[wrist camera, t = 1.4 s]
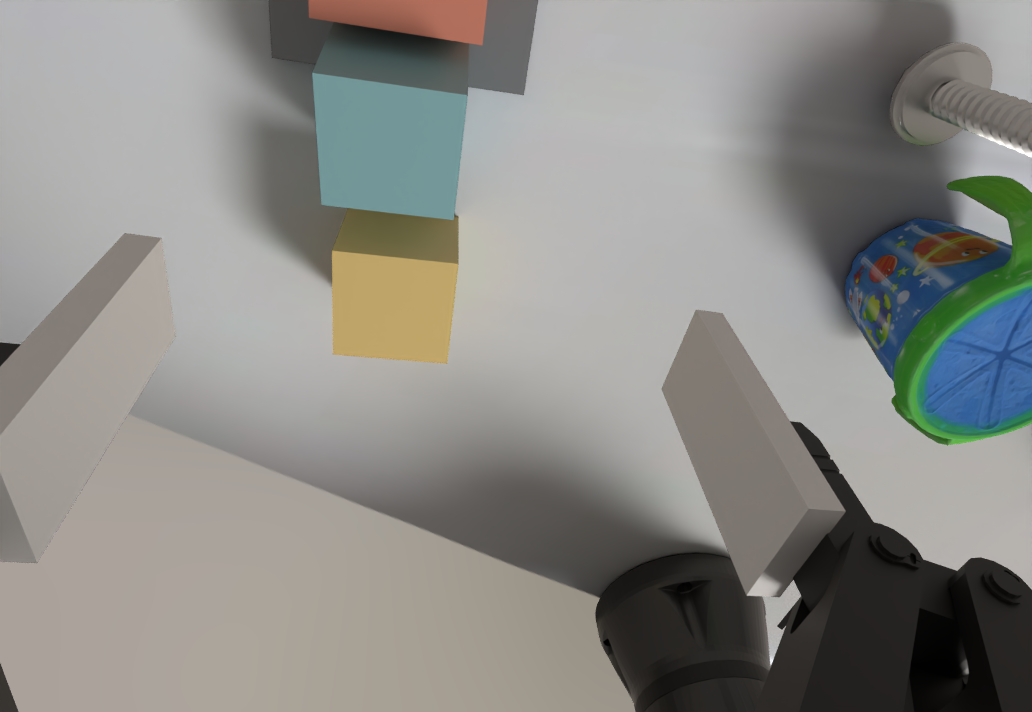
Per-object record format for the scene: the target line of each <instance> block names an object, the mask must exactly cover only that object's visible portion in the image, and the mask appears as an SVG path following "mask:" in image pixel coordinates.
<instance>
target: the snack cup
mask: <svg viewBox="0 0 1032 712" xmlns="http://www.w3.org/2000/svg"><path fill="white" fill-rule="evenodd" d="M947 188H948V189H949V190H954V191H960V192H962V193H964V194H966V195H967V196H969V197H971V198H972V199H974V200H976V201H978V202H979V203H981V204H983V205H984V206H986V207H988V208H990V209H991V210H993V211H995V212H996V213H998V214H1000V215H1002V216H1004V217H1005V218H1007V220H1008V223H1009V228H1010V232H1011V238H1012V246H1011V245H1009V244H1006V243H1004V242H1002V241H999V240H996V239H992V238H990V237H987V236H985V235H983V234H980V233H978V232H975V231H972V230H969V229H964V228H962V227H960V226H957V225H954V224H951V223H947V222H943V221H937V220H925V219H914V220H911V221H909V222H906V223H905V224H904V225H902V226H899V227H897V228H895V229H893V230H891V231H889V232H887V233H885V234H883V235H882V236H880V237H879V238H877V239H876V240H874V241H873V242H872V243H871V244H870V245H869V247H868V248H867V249H865V250H864V251H862V252H860V253H858V255H857V256H856V258H855V259H854V261H853V263H852V269H851V272H850V273H849V275H848V277H847V279H846V283H845V296H846V303H847V307H848V310H849V312H850V314H851V316H852V317H853V319H854V320H855V322H856V324H857V326H858V327H859V329H860V330H861V332H862V333H863V336H864V337H865V339H866V340H867V342H868V344H869V345H870V347H871V348H872V350H873V352H874V353H875V355H876V357H877V358H878V360H879V361H880V363H881V364H882V366H883V367H884V369H885V371H886V372H887V374H888V375H889V377H890V378H891V379H892V380H893V382H894V388H895V393H896V395H895V396H894V397H893V398H892V404H893V405H894V407H895V410H896V412H897V413H898V414H900V415H901V416H902V417H903V418H904V419H905V420H906V421H907V422H908V423H910V424H911V425H912V426H913V427H915V428H916V429H917V430H919V431H920V432H922V433H923V434H924V435H925V436H927V437H928V438H930V439H932V440H934V441H935V442H937V443H939V444H944V445H951V444H960V443H966V442H972V441H976V440H981V439H985V438H989V437H993V436H997V435H1001V434H1005V433H1008V432H1011V431H1014V430H1017V429H1019V428H1022V427H1025V426H1027V425H1029V424H1031V423H1032V192H1030V191H1029V190H1028V189H1027V188H1026V187H1024V186H1023V185H1022V184H1020V183H1019V182H1017V181H1015V180H1014V179H1012V178H1007V177H1002V176H978V177H970V178H967V179H959V180H955V181H953V182H950V183H949V184H948V185H947Z"/></svg>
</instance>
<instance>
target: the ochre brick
mask: <svg viewBox="0 0 1032 712" xmlns="http://www.w3.org/2000/svg"><path fill="white" fill-rule="evenodd" d="M457 272H458V217H455V216H454V220H448V219H439V218H431V217H422V216H413V215H405V214H396V213H387V212H378V211H370V210H361V209H352V208H348V210H347V213H346V215H345V218H344V220H343V223H342V226H341V228H340V231H339V234H338V236H337V239H336V241H335V244H334V247H333V249H332V297H333V354H334V355H347V356H359V357H371V358H384V359H396V360H408V361H421V362H433V363H446V364H447V361H448V352H449V343H450V334H451V325H452V317H453V308H454V299H455V290H456V281H457Z"/></svg>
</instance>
